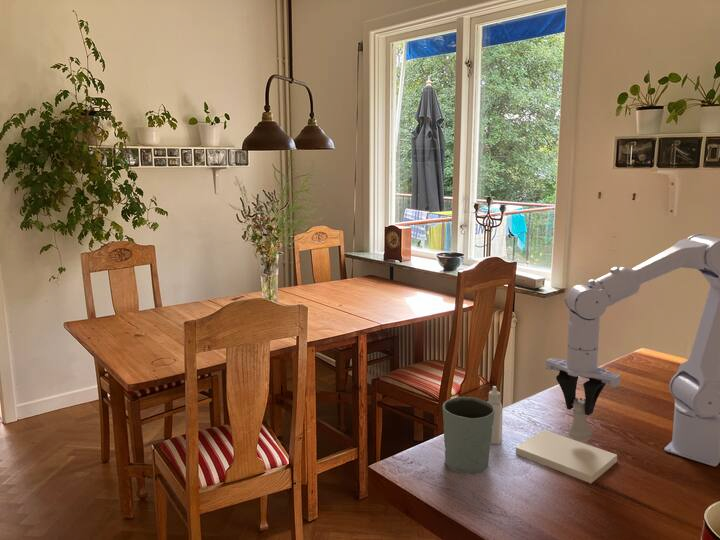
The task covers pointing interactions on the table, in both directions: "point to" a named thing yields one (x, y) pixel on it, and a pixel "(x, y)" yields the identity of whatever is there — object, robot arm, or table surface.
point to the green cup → (467, 433)
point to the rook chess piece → (579, 422)
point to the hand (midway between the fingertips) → (579, 410)
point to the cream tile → (567, 455)
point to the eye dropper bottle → (496, 416)
